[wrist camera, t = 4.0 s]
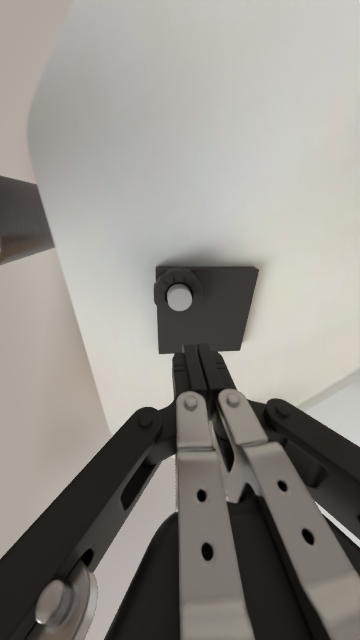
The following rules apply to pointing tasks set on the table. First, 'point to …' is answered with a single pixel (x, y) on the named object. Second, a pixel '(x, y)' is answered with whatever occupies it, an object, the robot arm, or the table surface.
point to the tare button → (179, 297)
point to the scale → (204, 307)
